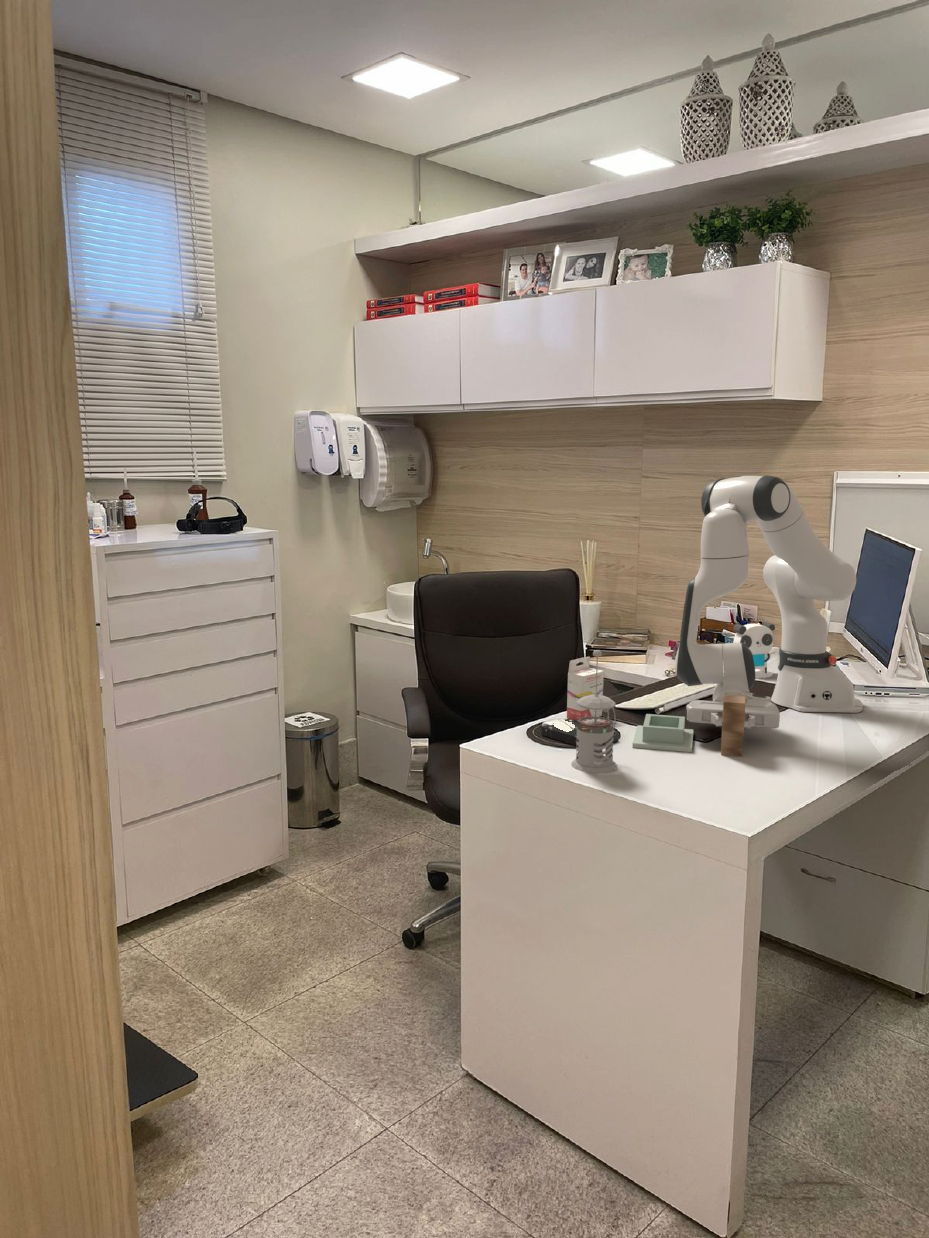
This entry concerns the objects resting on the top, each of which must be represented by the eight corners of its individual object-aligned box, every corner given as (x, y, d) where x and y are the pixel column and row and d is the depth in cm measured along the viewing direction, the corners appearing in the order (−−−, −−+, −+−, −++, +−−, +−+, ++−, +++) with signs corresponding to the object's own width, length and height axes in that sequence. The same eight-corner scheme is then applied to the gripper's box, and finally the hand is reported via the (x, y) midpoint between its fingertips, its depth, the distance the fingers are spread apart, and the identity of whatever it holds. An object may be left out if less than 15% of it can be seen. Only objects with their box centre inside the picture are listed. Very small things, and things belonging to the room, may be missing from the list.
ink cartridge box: (581, 722, 230) (583, 664, 227) (566, 718, 233) (567, 660, 231) (603, 715, 236) (605, 658, 233) (587, 711, 239) (589, 655, 236)
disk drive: (540, 738, 220) (590, 752, 209) (540, 726, 220) (590, 739, 209) (569, 728, 227) (618, 741, 216) (569, 717, 227) (618, 730, 216)
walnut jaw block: (741, 747, 211) (744, 696, 209) (742, 756, 205) (745, 703, 203) (720, 746, 212) (723, 694, 210) (721, 754, 206) (723, 702, 204)
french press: (561, 765, 199) (564, 650, 194) (591, 752, 208) (594, 641, 203) (601, 776, 193) (605, 657, 188) (630, 761, 202) (634, 648, 197)
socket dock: (693, 733, 221) (694, 715, 220) (691, 752, 208) (692, 732, 207) (637, 729, 224) (638, 711, 224) (632, 747, 211) (633, 728, 210)
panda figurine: (743, 679, 272) (746, 628, 270) (723, 670, 283) (726, 621, 280) (780, 676, 275) (783, 626, 272) (759, 667, 286) (762, 619, 283)
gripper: (687, 691, 222) (685, 706, 209) (778, 697, 217) (782, 713, 203) (685, 716, 223) (684, 734, 210) (776, 723, 218) (780, 741, 205)
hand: (733, 724), depth 207 cm, fingers closed on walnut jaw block, 4 cm apart
